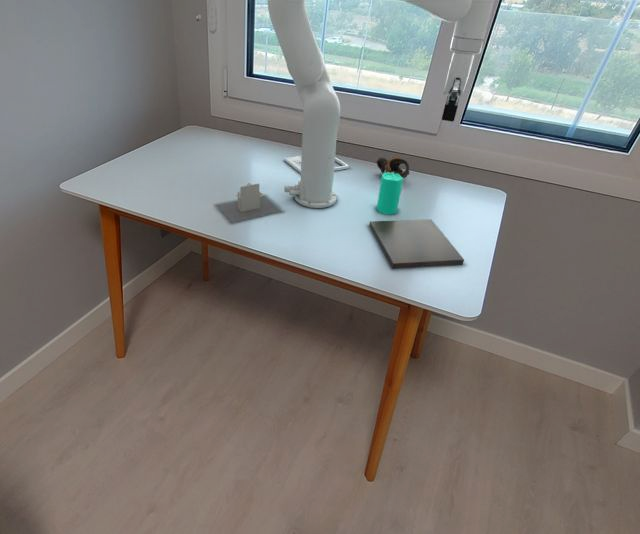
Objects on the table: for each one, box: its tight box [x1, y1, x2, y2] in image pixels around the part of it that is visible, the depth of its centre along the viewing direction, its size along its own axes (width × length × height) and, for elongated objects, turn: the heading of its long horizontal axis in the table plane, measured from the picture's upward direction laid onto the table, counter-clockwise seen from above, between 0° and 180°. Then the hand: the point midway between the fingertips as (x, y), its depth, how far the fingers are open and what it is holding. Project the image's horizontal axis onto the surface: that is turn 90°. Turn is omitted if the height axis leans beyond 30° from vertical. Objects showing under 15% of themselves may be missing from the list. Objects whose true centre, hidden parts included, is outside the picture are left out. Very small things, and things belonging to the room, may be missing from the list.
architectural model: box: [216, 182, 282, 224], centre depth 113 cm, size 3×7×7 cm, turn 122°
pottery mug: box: [376, 156, 410, 180], centre depth 138 cm, size 12×10×8 cm
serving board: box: [368, 218, 465, 270], centre depth 104 cm, size 18×20×2 cm
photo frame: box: [284, 155, 350, 174], centre depth 144 cm, size 15×1×18 cm
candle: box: [376, 171, 404, 215], centre depth 116 cm, size 6×6×12 cm
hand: (448, 116), depth 111 cm, fingers open, 9 cm apart
